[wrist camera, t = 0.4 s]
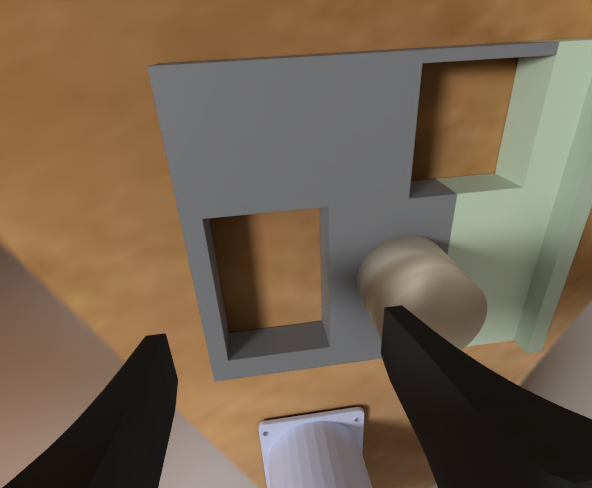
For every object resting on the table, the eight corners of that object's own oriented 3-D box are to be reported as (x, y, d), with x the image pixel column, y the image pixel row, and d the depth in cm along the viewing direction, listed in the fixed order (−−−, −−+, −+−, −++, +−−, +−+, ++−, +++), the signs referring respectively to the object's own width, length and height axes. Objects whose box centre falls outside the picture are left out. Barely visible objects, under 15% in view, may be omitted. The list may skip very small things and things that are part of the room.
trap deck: (505, 314, 26) (541, 351, 23) (216, 352, 25) (213, 398, 21) (579, 38, 18) (650, 37, 15) (158, 63, 17) (139, 68, 13)
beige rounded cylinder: (438, 306, 22) (476, 356, 19) (355, 317, 22) (378, 370, 18) (451, 229, 20) (497, 270, 16) (358, 240, 19) (384, 283, 16)
